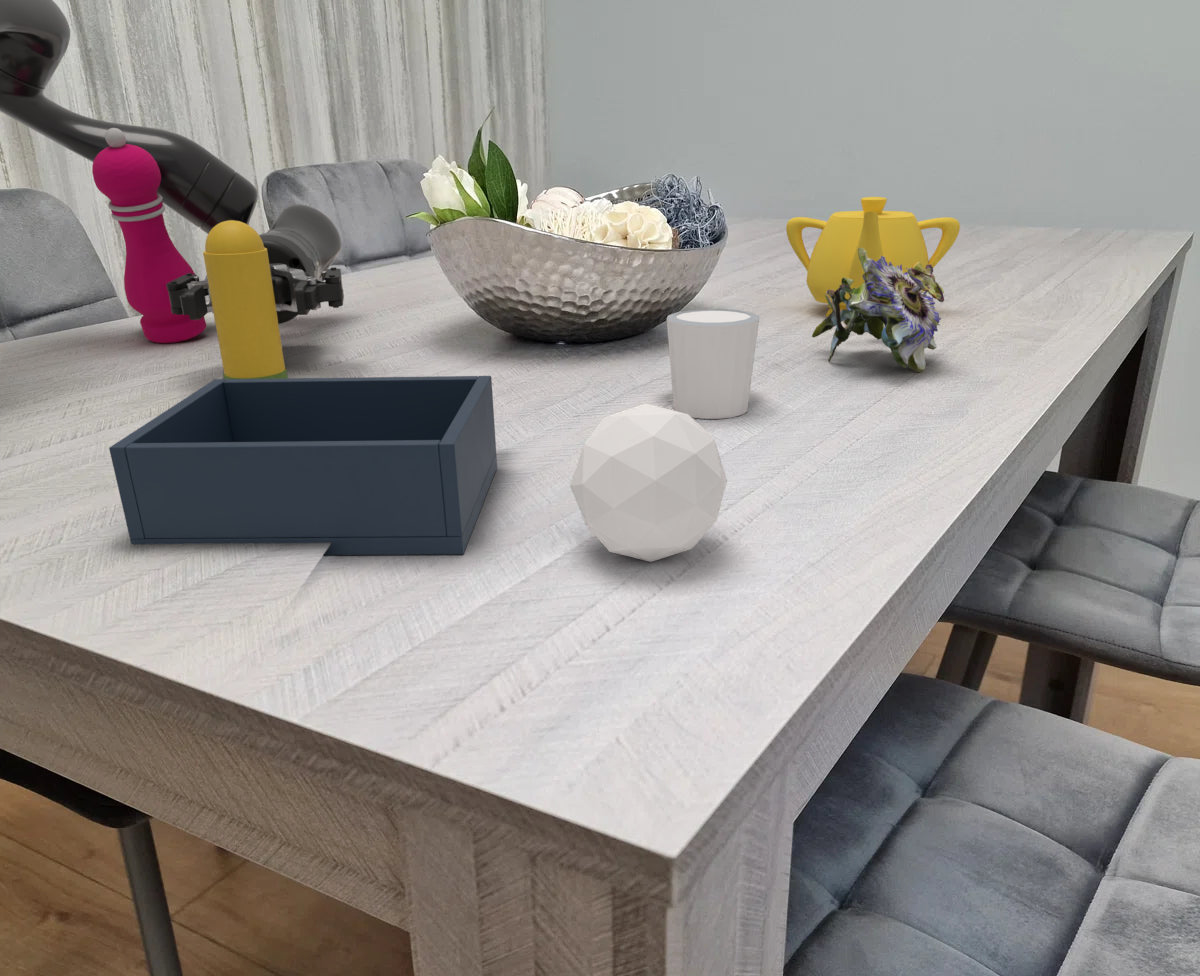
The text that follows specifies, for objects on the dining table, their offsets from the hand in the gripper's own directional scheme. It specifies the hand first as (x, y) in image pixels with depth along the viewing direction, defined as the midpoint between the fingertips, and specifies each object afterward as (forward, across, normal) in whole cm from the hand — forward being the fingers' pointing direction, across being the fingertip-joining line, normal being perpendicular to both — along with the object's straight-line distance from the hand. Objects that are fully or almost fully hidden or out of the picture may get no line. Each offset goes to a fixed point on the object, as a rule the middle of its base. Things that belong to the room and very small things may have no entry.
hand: (246, 304), depth 84 cm
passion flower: (+2, -53, -7) cm, 53 cm away
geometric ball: (+40, -26, -8) cm, 48 cm away
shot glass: (+13, -35, -7) cm, 38 cm away
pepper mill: (-26, +12, -7) cm, 30 cm away
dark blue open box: (+30, -9, -7) cm, 32 cm away
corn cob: (+1, 0, -7) cm, 7 cm away
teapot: (-21, -61, -7) cm, 65 cm away
